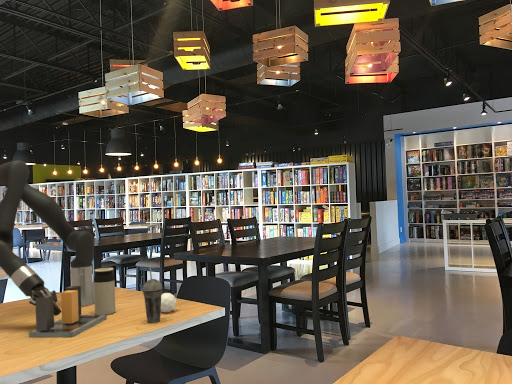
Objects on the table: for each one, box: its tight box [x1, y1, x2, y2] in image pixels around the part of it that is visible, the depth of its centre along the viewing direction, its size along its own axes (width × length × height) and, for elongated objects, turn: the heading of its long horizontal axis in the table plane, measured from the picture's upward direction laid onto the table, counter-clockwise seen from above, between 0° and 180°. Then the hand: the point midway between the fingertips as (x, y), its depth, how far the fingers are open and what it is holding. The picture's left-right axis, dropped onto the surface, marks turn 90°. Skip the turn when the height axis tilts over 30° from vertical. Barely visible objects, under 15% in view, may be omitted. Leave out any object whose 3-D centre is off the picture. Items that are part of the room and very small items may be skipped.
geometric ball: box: [161, 292, 177, 314], centre depth 171 cm, size 8×8×8 cm
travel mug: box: [93, 267, 116, 315], centre depth 173 cm, size 8×8×18 cm
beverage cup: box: [142, 267, 163, 324], centre depth 157 cm, size 7×7×20 cm
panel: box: [28, 285, 108, 338], centre depth 153 cm, size 23×16×13 cm
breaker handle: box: [60, 290, 79, 323], centre depth 153 cm, size 4×4×11 cm
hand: (58, 313), depth 154 cm, fingers closed
